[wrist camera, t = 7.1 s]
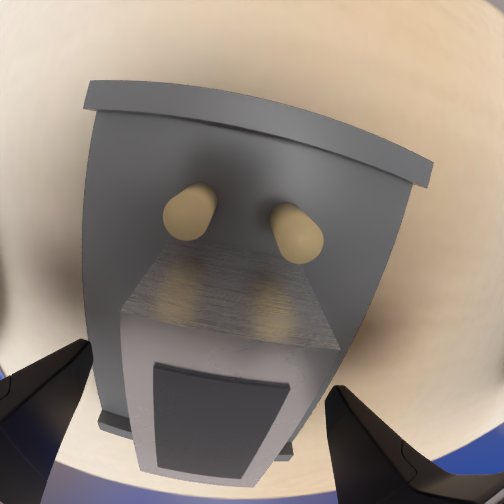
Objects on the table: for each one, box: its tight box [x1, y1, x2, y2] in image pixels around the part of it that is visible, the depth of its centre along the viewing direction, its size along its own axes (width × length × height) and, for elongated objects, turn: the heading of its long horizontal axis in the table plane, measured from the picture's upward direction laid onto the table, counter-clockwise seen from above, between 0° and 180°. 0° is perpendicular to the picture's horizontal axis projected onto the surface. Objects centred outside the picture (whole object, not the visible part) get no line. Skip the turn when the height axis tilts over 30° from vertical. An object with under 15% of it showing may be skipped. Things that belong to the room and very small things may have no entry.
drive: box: [120, 237, 341, 487], centre depth 9 cm, size 4×8×5 cm, turn 167°
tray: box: [82, 80, 434, 461], centre depth 10 cm, size 12×18×4 cm, turn 167°
